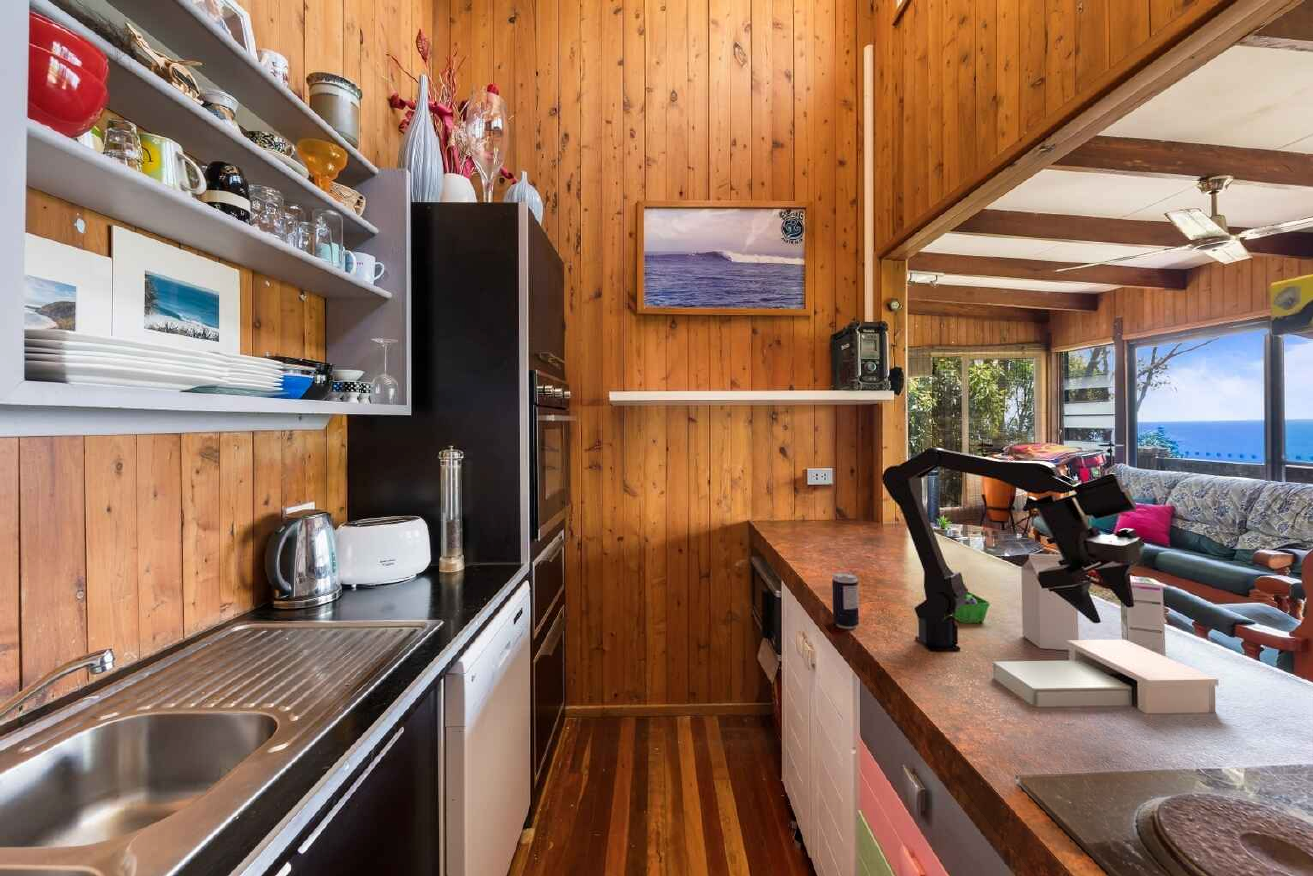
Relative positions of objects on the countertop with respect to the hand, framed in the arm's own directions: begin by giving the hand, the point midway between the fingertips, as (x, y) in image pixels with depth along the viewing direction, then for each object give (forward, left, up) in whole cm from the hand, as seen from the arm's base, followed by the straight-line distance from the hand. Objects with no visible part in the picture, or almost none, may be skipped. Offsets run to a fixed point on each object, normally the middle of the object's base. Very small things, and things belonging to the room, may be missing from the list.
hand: (1114, 615), depth 87 cm
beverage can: (-34, +33, -14) cm, 49 cm away
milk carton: (+5, +21, -14) cm, 25 cm away
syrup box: (+21, +17, -14) cm, 30 cm away
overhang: (+4, +1, -13) cm, 14 cm away
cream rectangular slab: (-9, +1, -13) cm, 16 cm away
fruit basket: (-4, +38, -14) cm, 41 cm away
